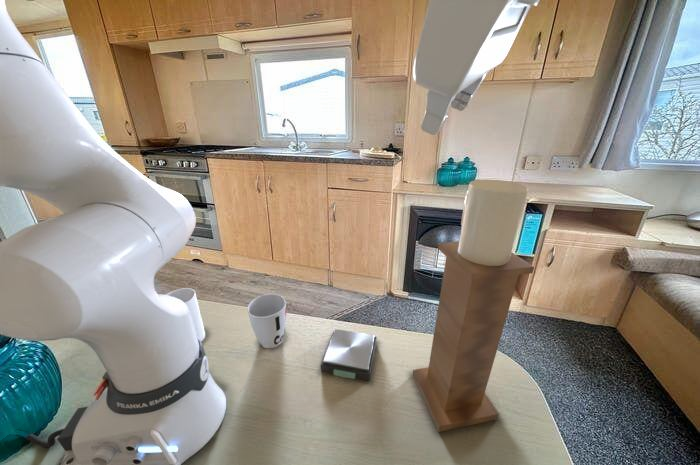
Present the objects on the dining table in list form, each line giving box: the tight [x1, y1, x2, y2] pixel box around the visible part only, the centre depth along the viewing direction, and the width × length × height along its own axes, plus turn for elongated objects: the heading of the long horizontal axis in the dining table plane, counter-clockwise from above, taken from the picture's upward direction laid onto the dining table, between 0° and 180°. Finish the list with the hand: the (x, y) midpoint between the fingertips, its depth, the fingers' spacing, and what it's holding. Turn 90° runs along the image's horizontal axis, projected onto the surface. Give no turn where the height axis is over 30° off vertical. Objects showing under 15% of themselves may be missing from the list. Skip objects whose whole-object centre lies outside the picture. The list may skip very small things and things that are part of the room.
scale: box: [320, 328, 377, 382], centre depth 59 cm, size 10×10×3 cm
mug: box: [165, 287, 206, 343], centre depth 60 cm, size 10×7×12 cm, turn 178°
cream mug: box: [458, 179, 529, 266], centre depth 39 cm, size 7×9×10 cm
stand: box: [412, 241, 535, 433], centre depth 46 cm, size 11×11×30 cm
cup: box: [246, 293, 287, 349], centre depth 62 cm, size 8×8×10 cm
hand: (445, 118), depth 31 cm, fingers open, 8 cm apart
